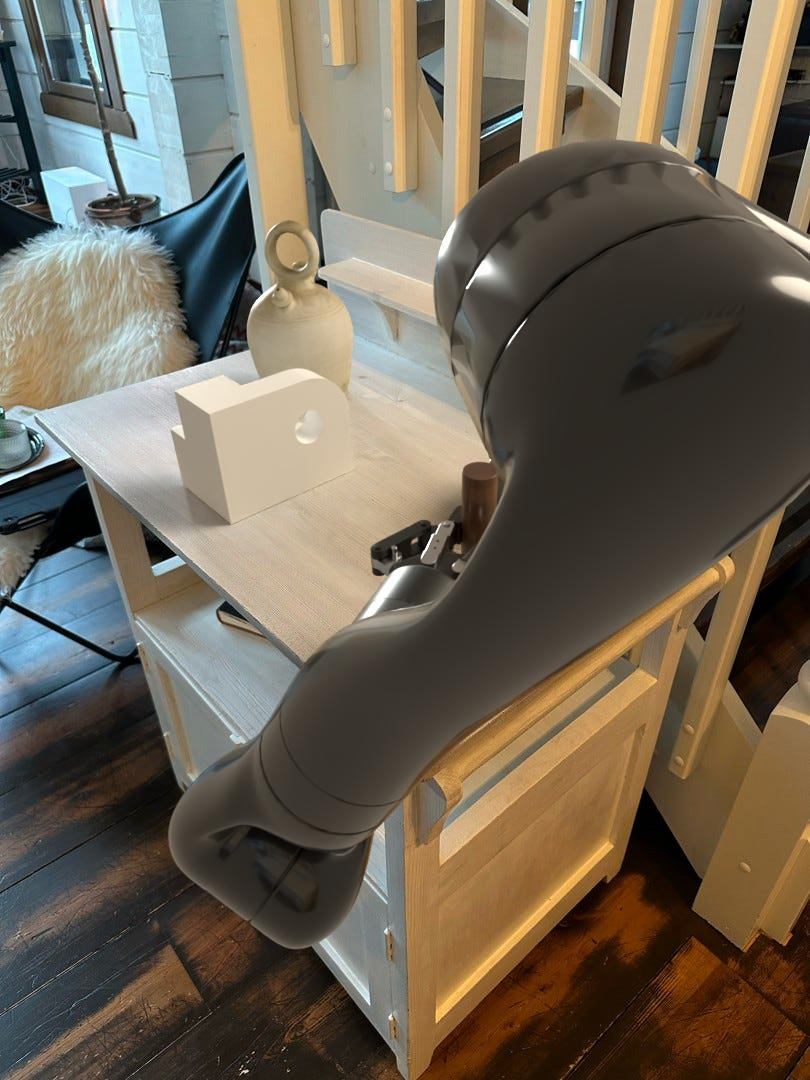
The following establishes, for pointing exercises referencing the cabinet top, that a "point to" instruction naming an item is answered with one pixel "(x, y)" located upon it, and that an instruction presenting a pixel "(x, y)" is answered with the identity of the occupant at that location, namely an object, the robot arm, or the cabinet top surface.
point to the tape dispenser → (261, 439)
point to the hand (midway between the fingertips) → (490, 514)
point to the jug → (300, 318)
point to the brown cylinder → (477, 502)
